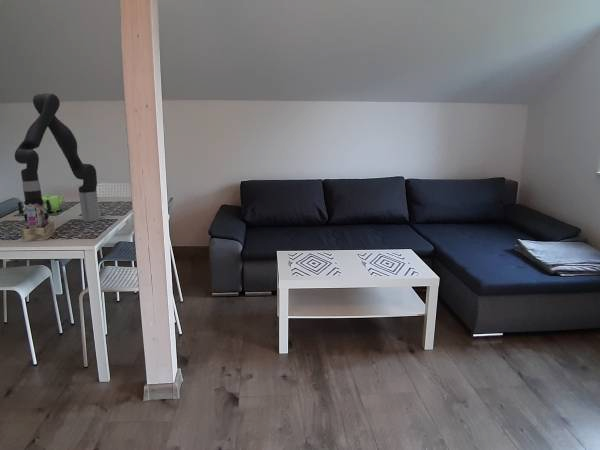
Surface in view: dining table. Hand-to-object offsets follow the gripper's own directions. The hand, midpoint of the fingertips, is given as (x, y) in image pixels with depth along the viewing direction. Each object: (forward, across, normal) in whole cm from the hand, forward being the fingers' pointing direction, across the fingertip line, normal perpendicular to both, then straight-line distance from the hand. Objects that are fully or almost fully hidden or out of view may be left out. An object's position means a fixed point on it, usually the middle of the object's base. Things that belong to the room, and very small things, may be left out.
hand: (37, 220), depth 227 cm
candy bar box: (+8, 0, 0) cm, 8 cm away
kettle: (+9, +7, -62) cm, 63 cm away
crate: (+8, 0, 0) cm, 8 cm away
